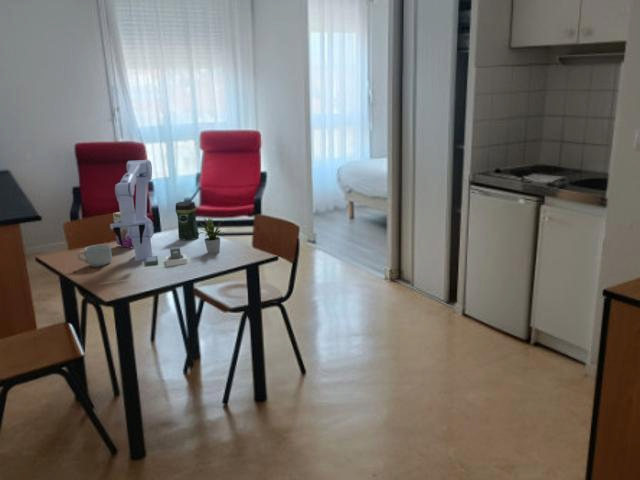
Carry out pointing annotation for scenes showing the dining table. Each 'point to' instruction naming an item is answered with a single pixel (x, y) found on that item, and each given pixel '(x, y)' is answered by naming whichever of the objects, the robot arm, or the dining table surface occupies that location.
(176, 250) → the plug
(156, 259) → the phone slab
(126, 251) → the dining table surface
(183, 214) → the coffee jar
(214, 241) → the house plant
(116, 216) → the candy bar box
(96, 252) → the teacup
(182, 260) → the outlet plate
